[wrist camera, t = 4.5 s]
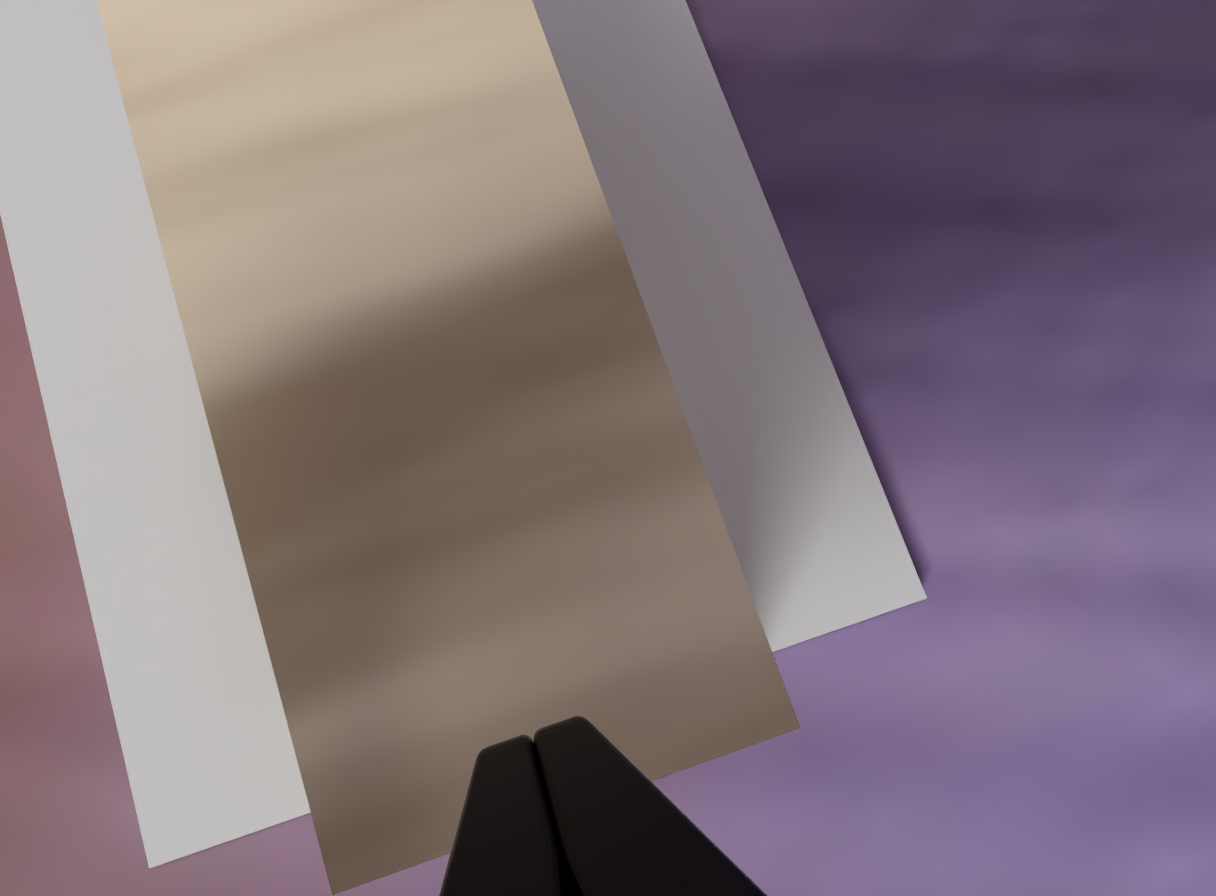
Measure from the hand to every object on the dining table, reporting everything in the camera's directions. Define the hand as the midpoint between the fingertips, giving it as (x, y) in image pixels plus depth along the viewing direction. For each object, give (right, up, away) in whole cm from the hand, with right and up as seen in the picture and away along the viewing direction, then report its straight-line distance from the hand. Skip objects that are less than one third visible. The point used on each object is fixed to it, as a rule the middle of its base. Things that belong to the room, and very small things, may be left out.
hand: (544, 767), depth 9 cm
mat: (-3, +6, +10) cm, 12 cm away
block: (0, -2, +5) cm, 5 cm away
